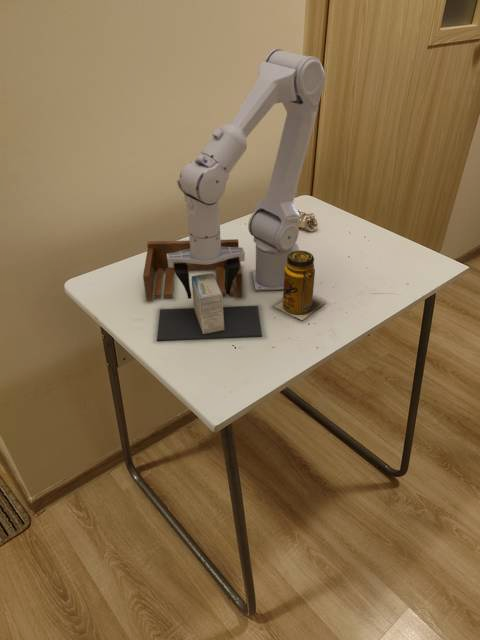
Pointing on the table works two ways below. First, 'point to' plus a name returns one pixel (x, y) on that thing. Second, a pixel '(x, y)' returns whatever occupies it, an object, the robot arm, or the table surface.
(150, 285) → the shelf rack
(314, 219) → the ornament
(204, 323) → the medicine box
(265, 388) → the table surface
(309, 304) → the condiment
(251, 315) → the rubber mat
